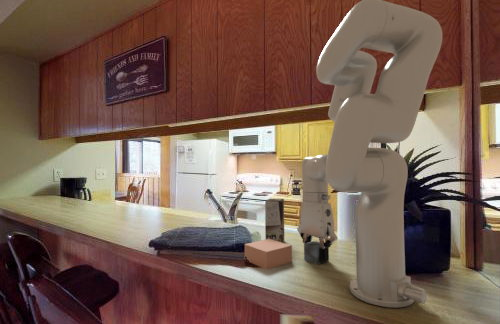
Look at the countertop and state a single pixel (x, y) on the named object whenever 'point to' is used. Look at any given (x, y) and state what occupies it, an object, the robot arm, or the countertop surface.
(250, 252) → the terracotta block
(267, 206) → the coffee box
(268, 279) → the countertop surface
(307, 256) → the slate cube
